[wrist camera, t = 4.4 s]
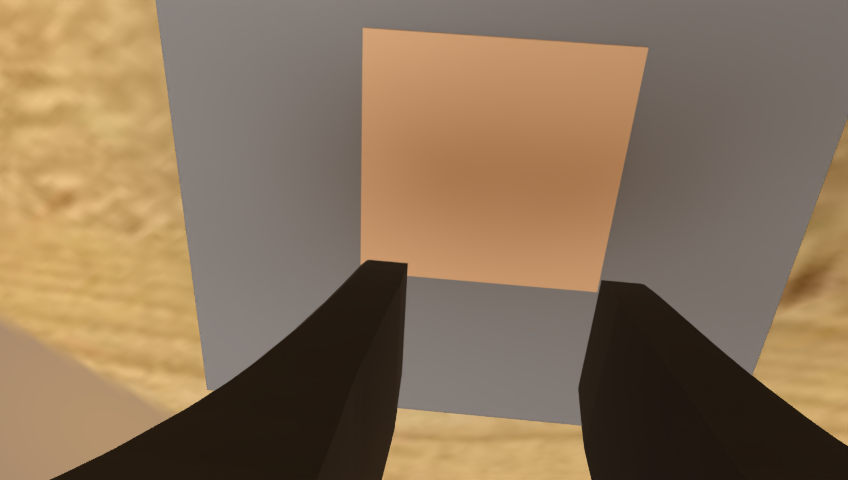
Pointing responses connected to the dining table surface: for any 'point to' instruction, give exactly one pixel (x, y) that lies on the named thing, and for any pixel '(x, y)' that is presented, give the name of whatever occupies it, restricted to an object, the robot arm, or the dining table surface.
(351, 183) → the grey flat square slab
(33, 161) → the dining table surface
